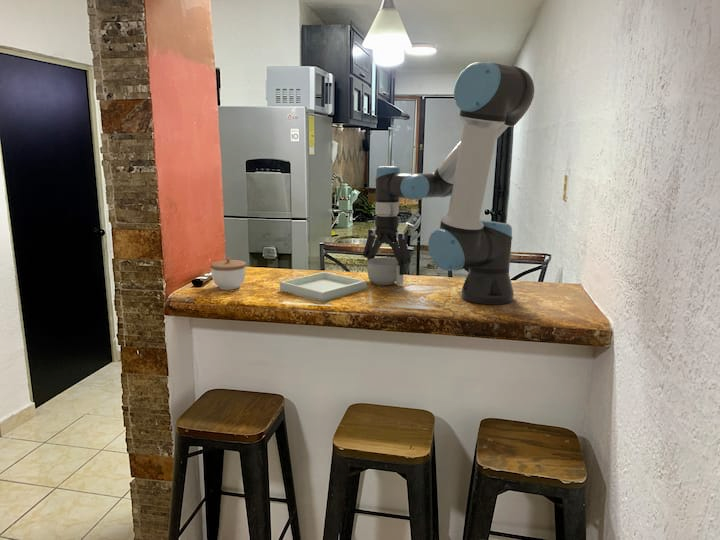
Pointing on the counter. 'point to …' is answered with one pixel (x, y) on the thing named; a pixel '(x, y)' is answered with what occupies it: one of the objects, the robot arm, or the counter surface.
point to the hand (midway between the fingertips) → (385, 281)
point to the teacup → (382, 270)
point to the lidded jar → (228, 273)
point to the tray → (323, 286)
